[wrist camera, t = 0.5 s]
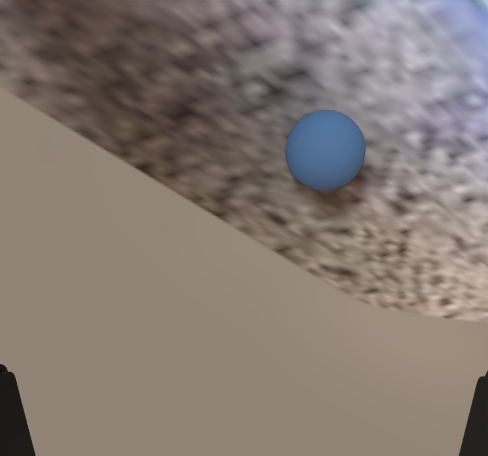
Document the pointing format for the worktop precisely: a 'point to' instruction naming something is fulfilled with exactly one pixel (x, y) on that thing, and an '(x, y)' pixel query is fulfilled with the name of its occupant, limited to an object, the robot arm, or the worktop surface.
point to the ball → (325, 150)
